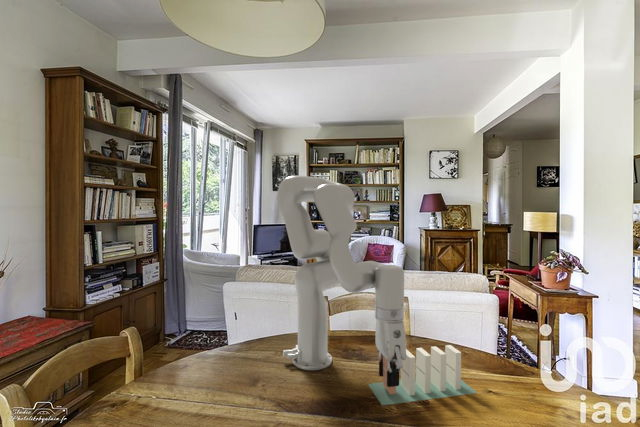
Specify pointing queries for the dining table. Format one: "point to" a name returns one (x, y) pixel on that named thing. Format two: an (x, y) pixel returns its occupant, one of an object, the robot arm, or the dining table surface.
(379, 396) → the felt mat
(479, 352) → the dining table surface
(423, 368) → the domino
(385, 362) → the salmon pink domino
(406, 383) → the domino
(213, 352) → the dining table surface
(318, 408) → the dining table surface
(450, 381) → the domino
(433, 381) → the domino
